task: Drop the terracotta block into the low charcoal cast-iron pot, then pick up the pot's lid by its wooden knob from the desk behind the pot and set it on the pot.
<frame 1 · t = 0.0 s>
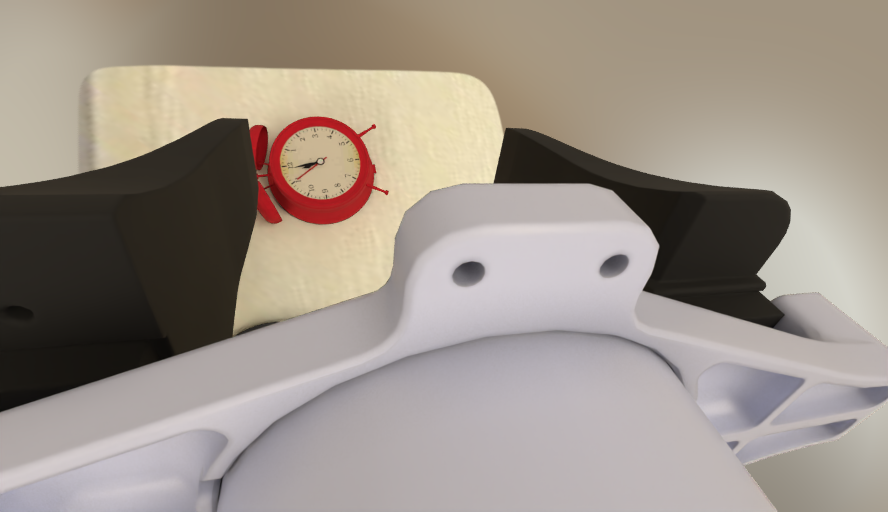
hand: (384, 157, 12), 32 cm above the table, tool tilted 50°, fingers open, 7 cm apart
alarm clock: (305, 178, 44), on the table
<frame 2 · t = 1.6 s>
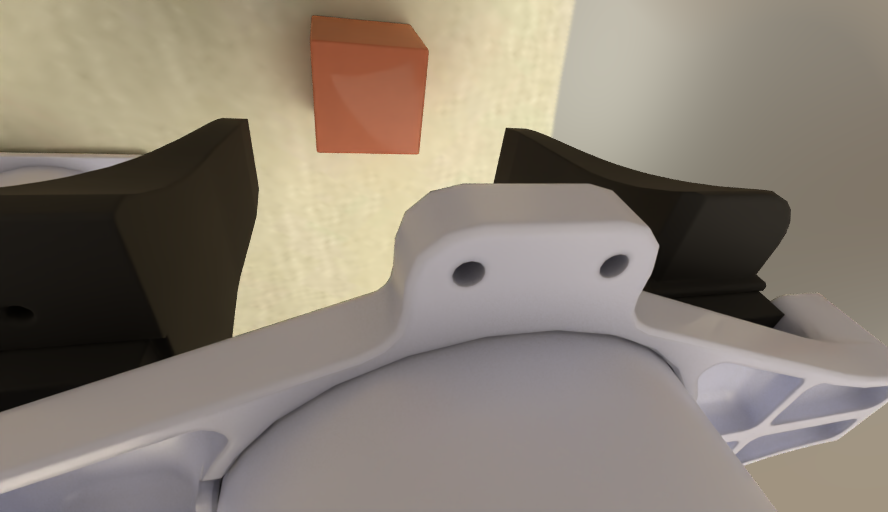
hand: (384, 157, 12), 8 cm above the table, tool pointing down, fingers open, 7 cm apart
block: (362, 70, 19), on the table
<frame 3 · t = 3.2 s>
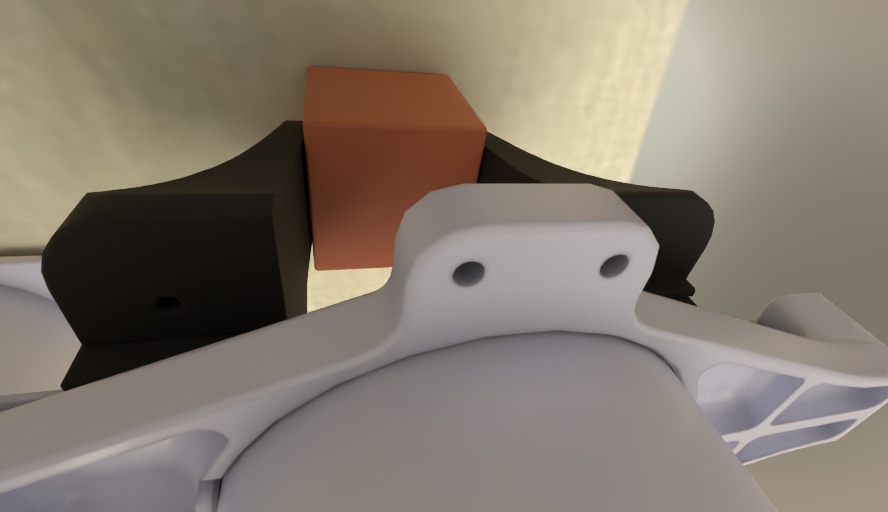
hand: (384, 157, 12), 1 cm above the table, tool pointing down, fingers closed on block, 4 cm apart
block: (378, 136, 13), on the table, touching gripper
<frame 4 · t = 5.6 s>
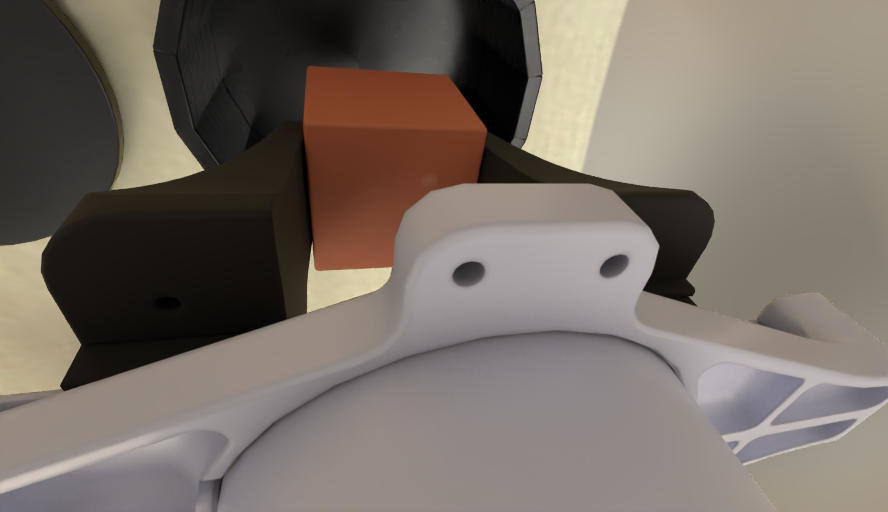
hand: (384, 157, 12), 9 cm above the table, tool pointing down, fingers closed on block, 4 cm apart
block: (378, 136, 13), point 7 cm above the table, touching gripper
pot: (357, 57, 18), on the table
when the fingers open (2 cm above the table, at t = 8.0 s): block stays where it is, resting on pot.
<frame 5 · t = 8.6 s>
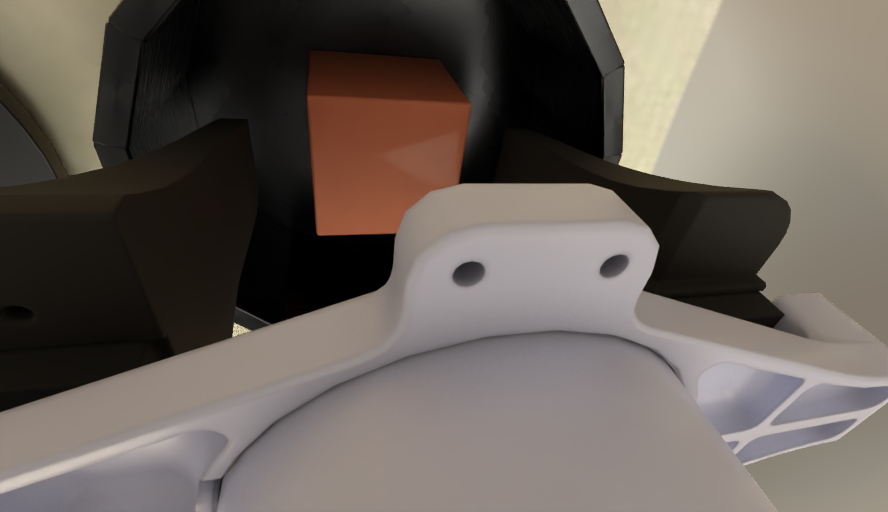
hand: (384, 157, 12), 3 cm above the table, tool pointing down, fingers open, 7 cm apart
block: (375, 117, 14), resting on pot
pot: (374, 113, 15), on the table
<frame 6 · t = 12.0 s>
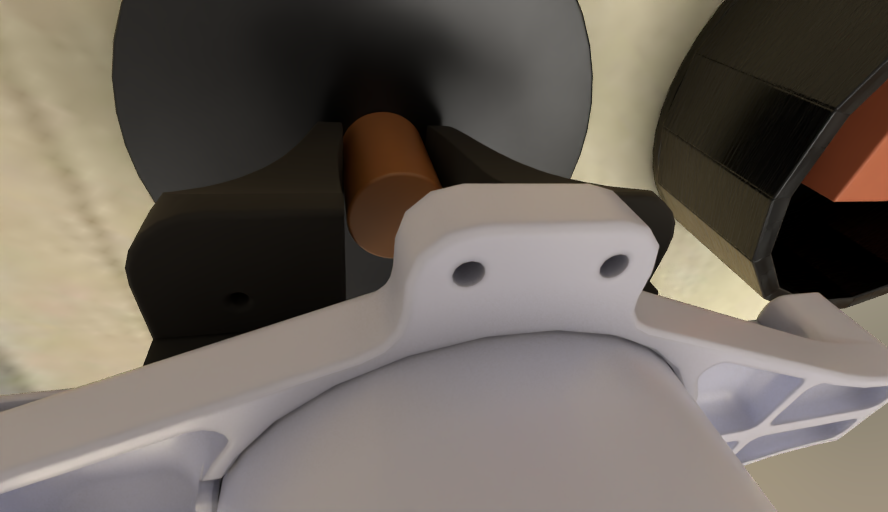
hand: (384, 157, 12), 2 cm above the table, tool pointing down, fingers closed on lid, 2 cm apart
lid: (380, 142, 13), point 1 cm above the table, touching gripper
block: (813, 99, 16), resting on pot
pot: (804, 96, 16), on the table
when the fingers open (6 cm above the table, at t = 16.2 s): lid stays where it is, resting on pot.
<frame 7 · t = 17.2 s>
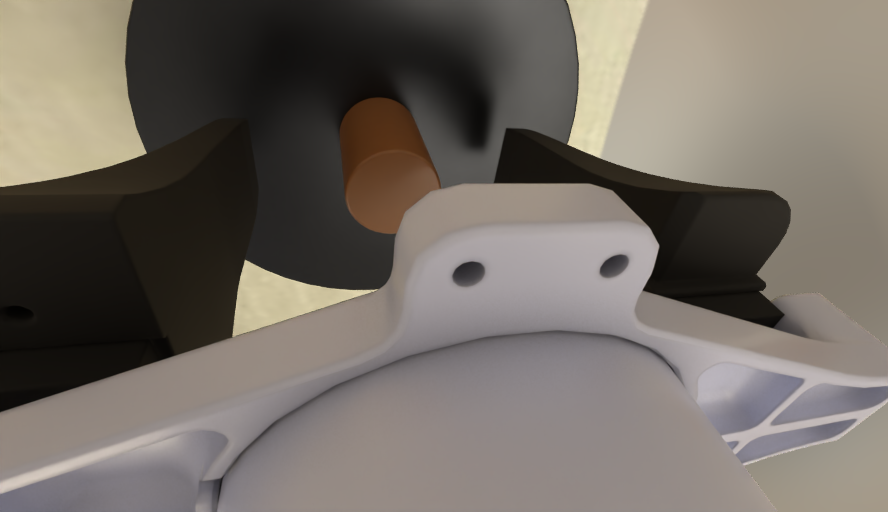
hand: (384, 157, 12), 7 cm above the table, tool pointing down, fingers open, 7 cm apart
lid: (377, 127, 14), point 5 cm above the table, touching pot
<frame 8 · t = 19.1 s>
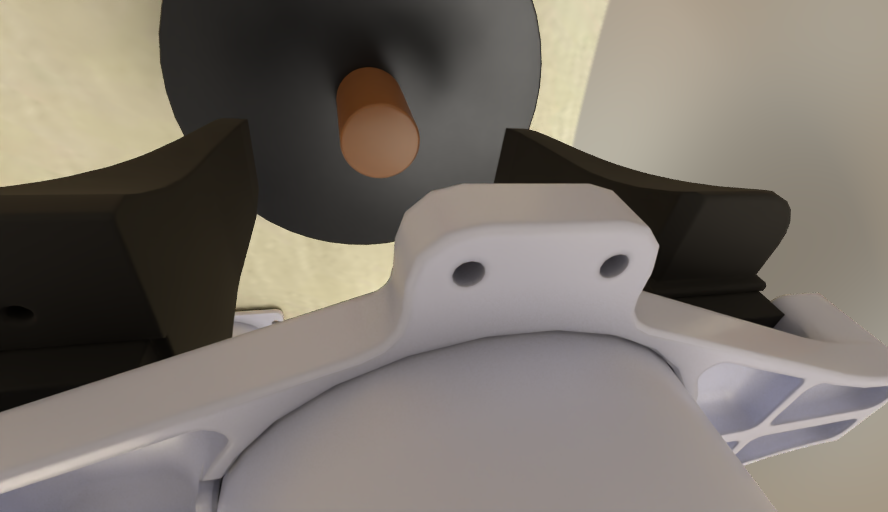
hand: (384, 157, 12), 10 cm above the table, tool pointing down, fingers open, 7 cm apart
lid: (368, 95, 16), point 5 cm above the table, touching pot
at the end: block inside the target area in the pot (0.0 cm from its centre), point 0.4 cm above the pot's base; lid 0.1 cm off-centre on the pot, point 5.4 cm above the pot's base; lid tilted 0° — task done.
